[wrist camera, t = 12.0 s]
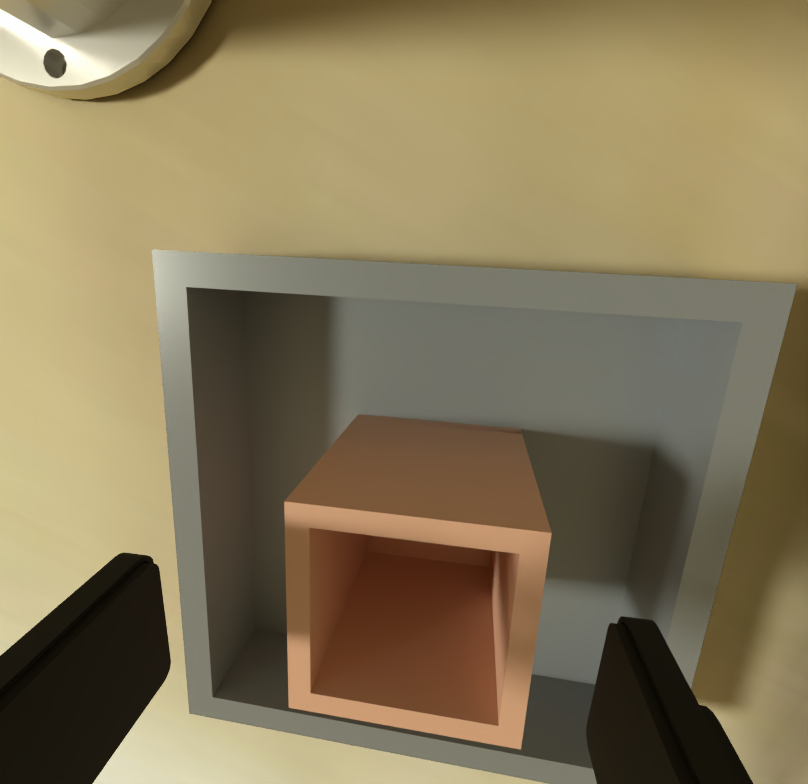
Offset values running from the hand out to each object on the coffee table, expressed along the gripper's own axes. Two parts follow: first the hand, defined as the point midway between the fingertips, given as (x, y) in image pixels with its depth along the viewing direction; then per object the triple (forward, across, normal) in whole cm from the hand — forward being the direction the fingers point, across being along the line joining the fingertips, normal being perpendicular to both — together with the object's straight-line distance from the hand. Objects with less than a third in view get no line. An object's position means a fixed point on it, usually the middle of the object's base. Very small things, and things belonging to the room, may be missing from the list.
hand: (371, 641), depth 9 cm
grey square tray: (+9, -1, +1) cm, 10 cm away
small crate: (+8, -1, +1) cm, 9 cm away
